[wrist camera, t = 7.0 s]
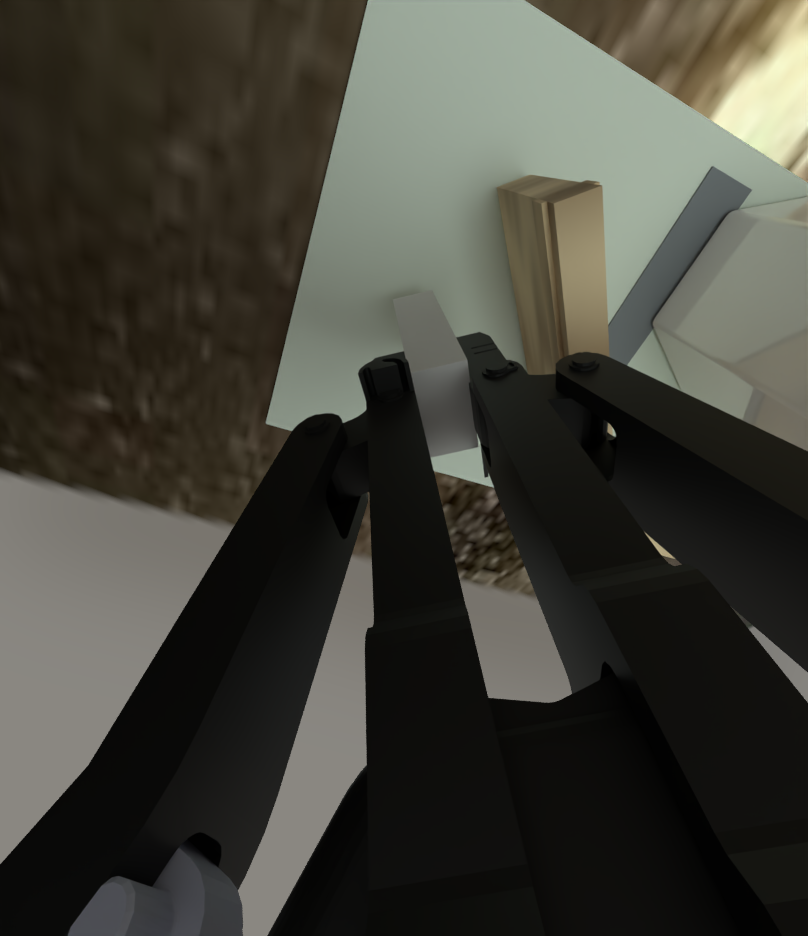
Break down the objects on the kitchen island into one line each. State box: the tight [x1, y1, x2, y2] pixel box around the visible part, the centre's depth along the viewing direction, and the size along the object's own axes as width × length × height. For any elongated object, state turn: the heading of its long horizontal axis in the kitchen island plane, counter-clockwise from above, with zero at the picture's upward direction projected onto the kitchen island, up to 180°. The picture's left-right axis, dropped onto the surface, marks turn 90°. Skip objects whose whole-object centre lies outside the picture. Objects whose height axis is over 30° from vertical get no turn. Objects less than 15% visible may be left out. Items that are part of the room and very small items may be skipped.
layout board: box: [266, 0, 808, 487], centre depth 20 cm, size 29×17×1 cm, turn 69°
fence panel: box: [497, 175, 613, 436], centre depth 16 cm, size 11×2×6 cm, turn 18°
